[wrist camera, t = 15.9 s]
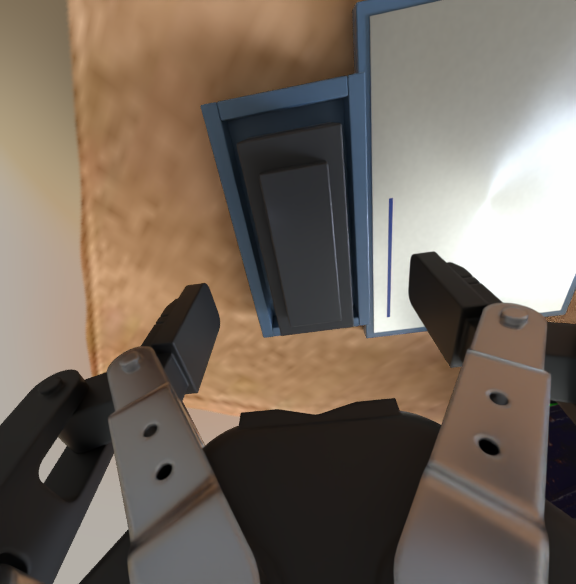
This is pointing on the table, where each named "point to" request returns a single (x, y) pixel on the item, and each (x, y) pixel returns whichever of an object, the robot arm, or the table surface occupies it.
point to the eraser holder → (280, 117)
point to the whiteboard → (469, 148)
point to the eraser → (302, 224)
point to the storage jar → (561, 461)
